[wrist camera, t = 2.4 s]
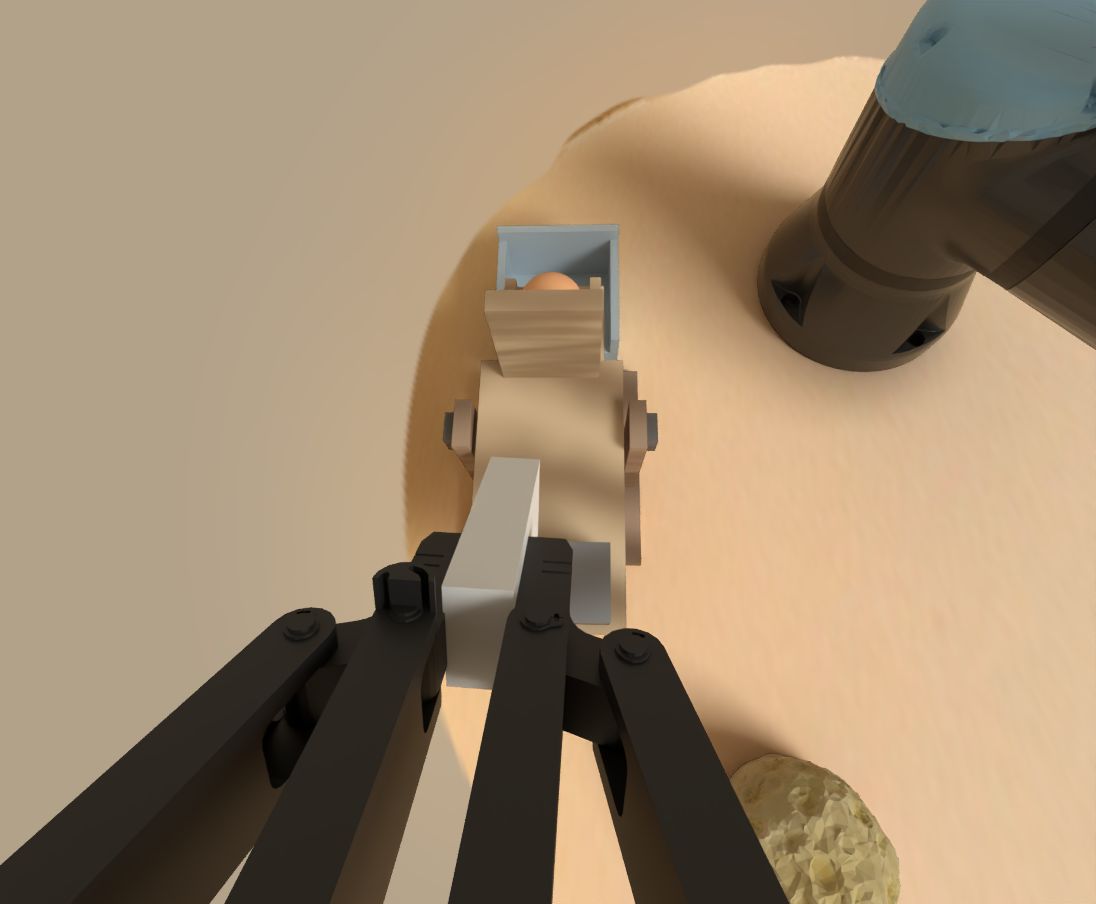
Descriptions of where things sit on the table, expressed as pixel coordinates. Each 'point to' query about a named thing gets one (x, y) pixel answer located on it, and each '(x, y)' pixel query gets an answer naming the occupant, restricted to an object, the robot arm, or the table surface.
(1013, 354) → the table surface
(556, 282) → the ball
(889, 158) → the robot arm
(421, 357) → the table surface
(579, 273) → the blue open box
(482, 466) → the lever
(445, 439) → the catapult stand
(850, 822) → the decorative item
